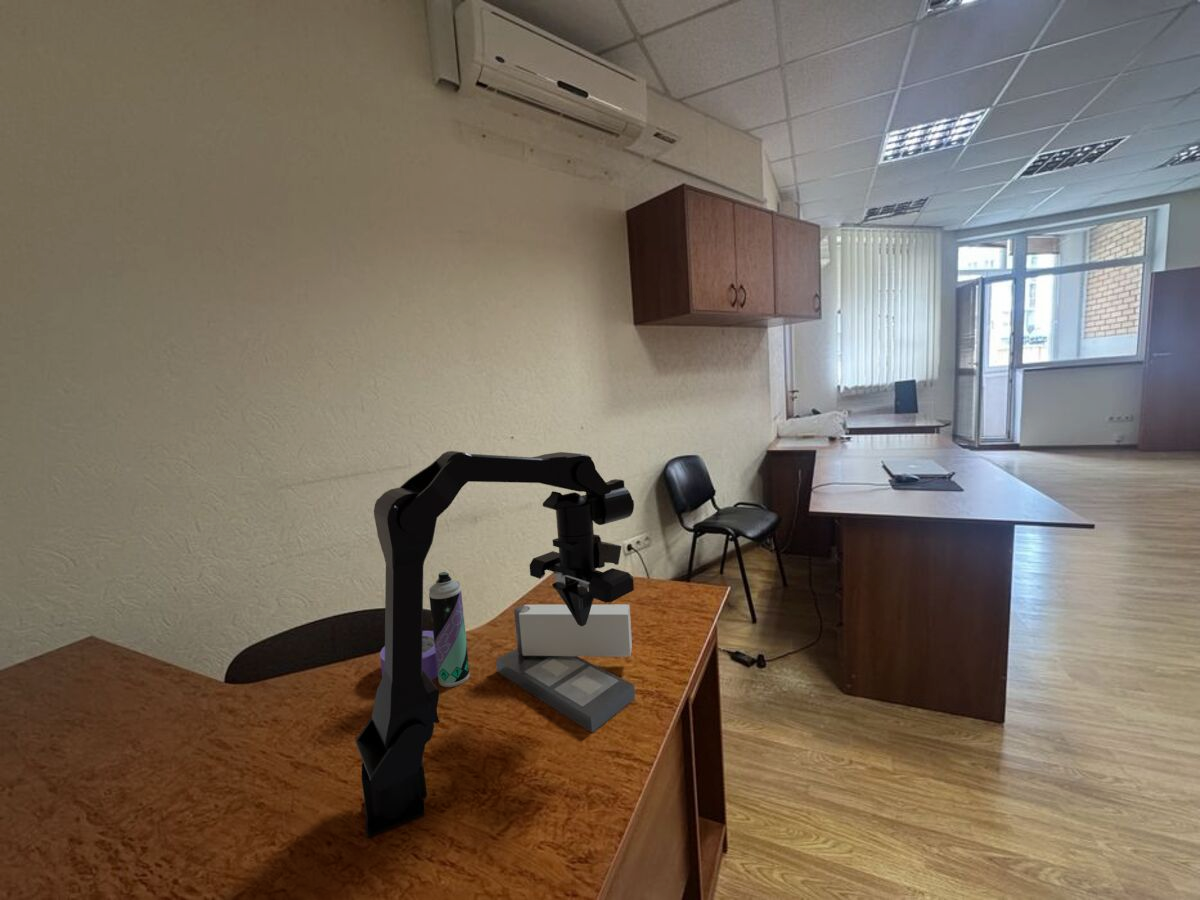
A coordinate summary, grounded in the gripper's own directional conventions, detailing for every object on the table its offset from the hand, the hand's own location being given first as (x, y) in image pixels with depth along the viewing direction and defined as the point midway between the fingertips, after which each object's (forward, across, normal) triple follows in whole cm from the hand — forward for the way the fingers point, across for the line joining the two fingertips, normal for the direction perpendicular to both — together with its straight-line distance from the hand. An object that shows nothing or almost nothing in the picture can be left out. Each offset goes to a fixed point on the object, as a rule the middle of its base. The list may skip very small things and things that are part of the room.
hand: (582, 624), depth 76 cm
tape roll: (+13, +32, +14) cm, 38 cm away
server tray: (+13, +6, 0) cm, 15 cm away
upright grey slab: (+10, +9, -5) cm, 15 cm away
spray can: (+13, +24, +11) cm, 29 cm away
